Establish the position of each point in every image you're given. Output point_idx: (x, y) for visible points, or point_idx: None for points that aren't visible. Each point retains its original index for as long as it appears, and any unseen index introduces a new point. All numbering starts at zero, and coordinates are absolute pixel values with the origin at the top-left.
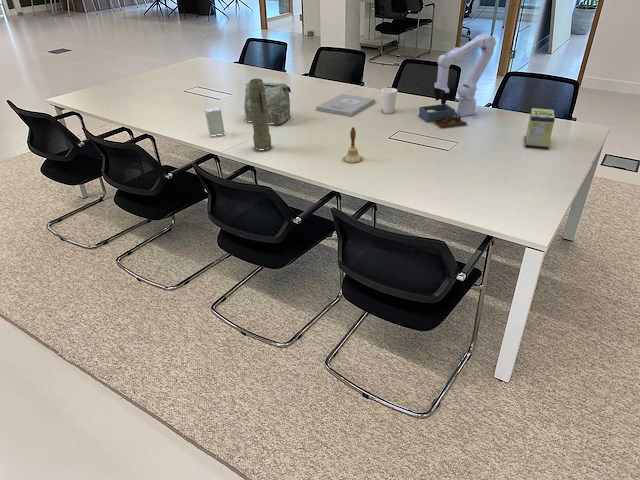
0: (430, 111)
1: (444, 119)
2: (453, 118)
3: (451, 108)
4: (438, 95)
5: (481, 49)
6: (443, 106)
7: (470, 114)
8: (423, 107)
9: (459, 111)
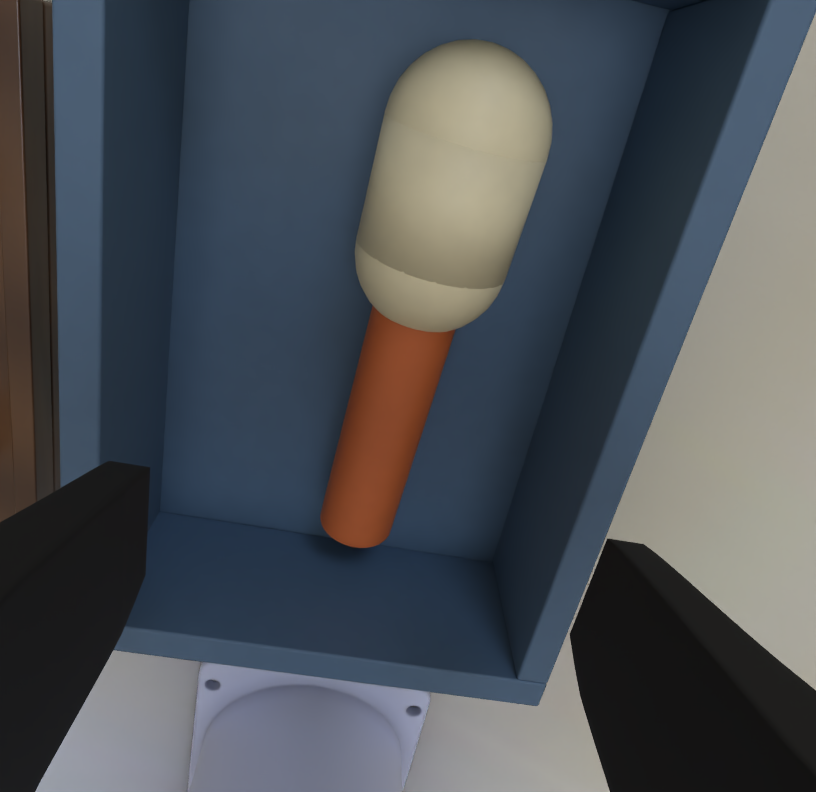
0: (410, 140)
1: (9, 270)
2: (21, 468)
3: (194, 636)
4: (645, 754)
5: None
6: (520, 615)
7: (188, 783)
8: (735, 69)
9: (275, 722)
